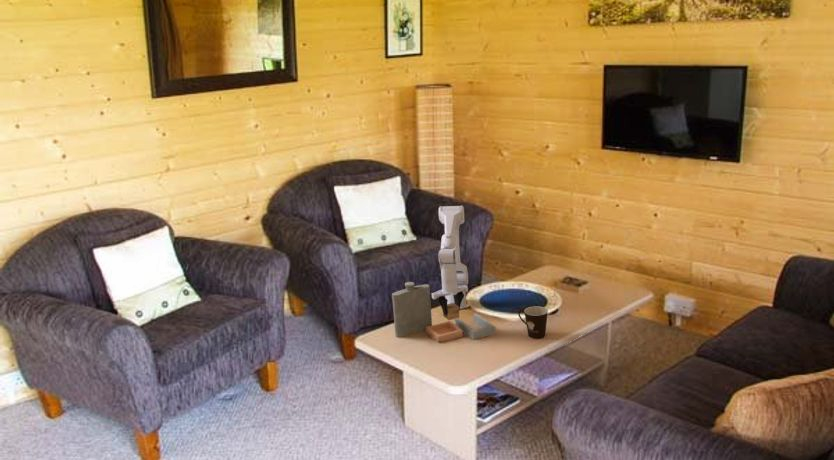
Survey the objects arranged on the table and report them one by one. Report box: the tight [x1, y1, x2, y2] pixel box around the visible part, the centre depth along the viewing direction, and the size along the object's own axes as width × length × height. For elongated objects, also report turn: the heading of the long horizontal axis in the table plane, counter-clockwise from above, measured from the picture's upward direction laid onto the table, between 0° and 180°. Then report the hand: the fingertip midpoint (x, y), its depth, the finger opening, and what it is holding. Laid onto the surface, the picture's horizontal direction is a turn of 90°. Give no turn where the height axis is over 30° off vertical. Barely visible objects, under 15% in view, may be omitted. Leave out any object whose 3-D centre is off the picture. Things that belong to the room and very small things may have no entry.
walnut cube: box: [442, 303, 460, 321], centre depth 293 cm, size 4×4×4 cm
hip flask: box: [391, 281, 433, 339], centre depth 296 cm, size 16×4×20 cm, turn 119°
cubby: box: [454, 313, 496, 340], centre depth 296 cm, size 15×9×3 cm, turn 24°
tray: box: [425, 320, 464, 344], centre depth 294 cm, size 10×10×2 cm
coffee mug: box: [517, 305, 549, 340], centre depth 288 cm, size 12×9×10 cm
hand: (451, 312), depth 293 cm, fingers closed on walnut cube, 4 cm apart
